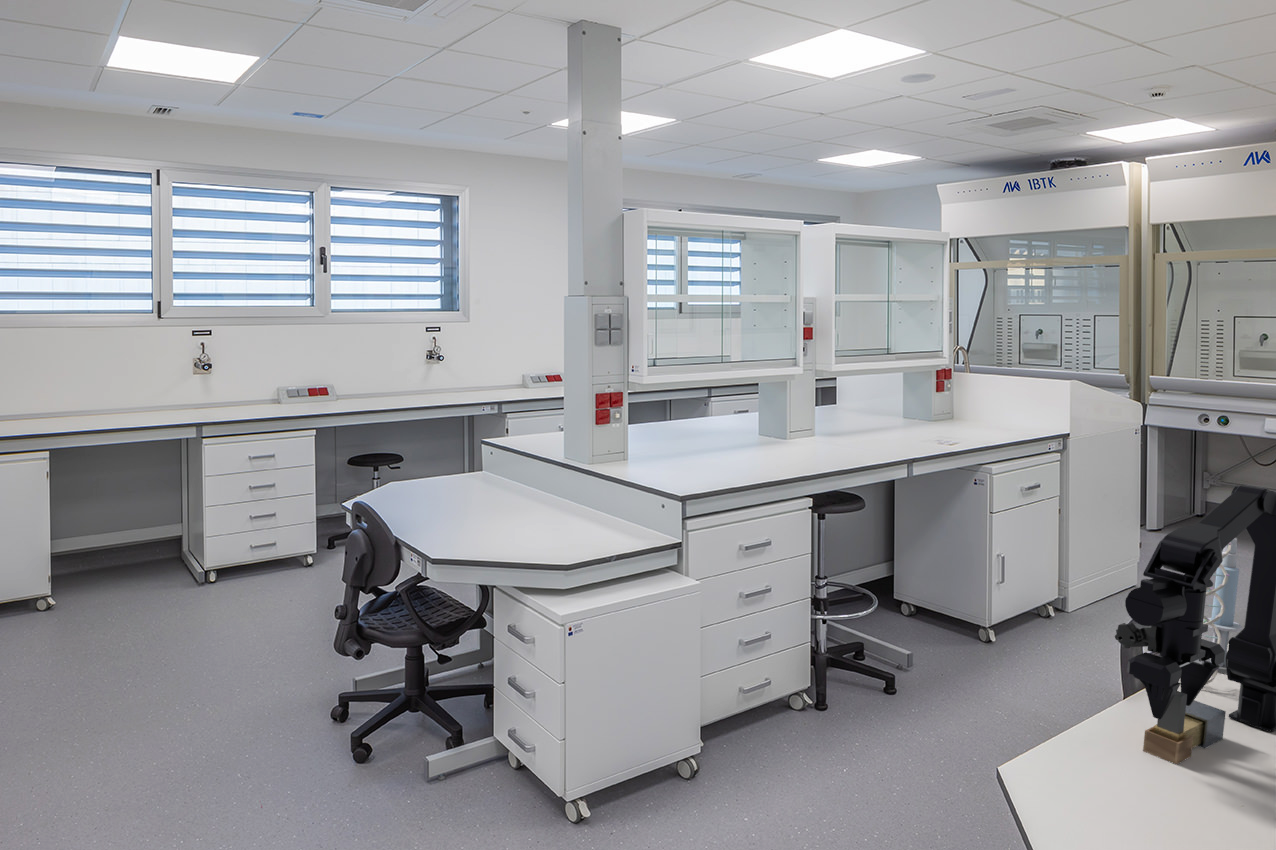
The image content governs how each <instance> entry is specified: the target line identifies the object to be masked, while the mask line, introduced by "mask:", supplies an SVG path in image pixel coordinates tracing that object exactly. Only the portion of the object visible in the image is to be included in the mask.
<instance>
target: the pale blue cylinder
mask: <svg viewBox="0 0 1276 850" xmlns="http://www.w3.org/2000/svg"><path fill="white" fill-rule="evenodd" d="M1237 543H1238V537H1236V538H1234V539H1233V540H1232V541H1231V550H1230V552H1229V553H1228V555H1227V556H1226V557H1224V558H1223V561H1222V563H1221V564H1222V565H1223V566H1224V568H1225V570H1226V572H1227V574H1229V575H1230V576H1228V581H1227V583H1226V584H1225V586H1224V587H1223V588H1221V589H1220V590H1218V591H1216V593H1217V594H1218V595H1219V596H1220V598H1221V599H1222V600H1223V603H1224V606H1225V611H1224V613H1223V615H1222V617H1221V618H1219V619H1218V620H1217V621H1216V622H1214V623H1213V624H1214V625H1215V626H1216V627H1217V628H1218V630H1219V632H1220V634H1221V644H1220V645H1221V647H1222V648H1223V649H1224V651H1225V657H1224V663H1221V664H1219V668H1218V673H1220V674H1227V668H1226V654H1227V651H1228V647H1229V639H1230V638H1229V636H1230V633H1231V632H1232V633H1234V632H1235V633H1236V632H1238V633H1239V632H1241V631H1242V630H1243V629H1242V628H1243V626H1242V625H1241V623H1237V622H1235V612H1236V602H1237V594H1238V593H1237V592H1238V585H1239V575H1240V568H1238V567H1237V562H1238V561H1237V559H1238V553H1237V549H1238V544H1237ZM1227 548H1228V546H1226V547H1225V548H1224V549H1223V550H1222V553H1225V552H1226V551H1227ZM1215 574H1218V575H1224V573H1223V571H1222V569H1220V568H1219V567H1218V568H1217V570H1216V571H1215ZM1223 580H1224V577H1223V576H1215V583H1214V589H1215V588H1217V587H1219V585H1220V584H1222V583H1223ZM1214 597H1215V596H1214V595H1213V600H1212V605H1215V606H1221V604H1220V602H1219V601H1218V599H1216V598H1214ZM1220 611H1221V608H1218V607H1212V611H1211V617H1207V618H1208V619H1209V620H1210V621H1211V620H1213V619H1215V617H1216V615H1217V616H1218V614H1219V613H1220ZM1204 621H1205V620H1204V619H1203V622H1204ZM1206 622H1207V621H1206ZM1206 622H1205V623H1206ZM1208 628H1211V629H1213V635H1212V636H1213V637H1218V636H1217V634H1216V632H1215V629H1214V628H1213V627H1212V626H1211V625H1208ZM1217 641H1218V639H1215V638H1212V641H1211V642H1214V643H1217ZM1210 662H1211V659H1210ZM1211 663H1212V662H1211ZM1218 673H1217V674H1218Z"/></svg>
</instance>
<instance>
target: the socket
mask: <svg viewBox="0 0 1276 850" xmlns="http://www.w3.org/2000/svg"><path fill="white" fill-rule="evenodd" d="M1192 741H1193V736H1189V737H1187V738H1185V739H1183V740H1182V741H1180V742H1176V741H1173V740H1171V739H1168V738H1165V737H1163V736H1160V735H1158V734H1155V733H1154V726H1151V727H1150V728H1148V729H1145V730H1144V738H1143V747H1142V751H1143V752H1145V753H1147V752H1148V753H1147V754H1149V753H1150V755H1152V756H1155V757H1157V756H1158V757H1157V758H1159V757H1160V759H1161V760H1164V761H1166V760H1167V762H1169V761H1170V762H1169V763H1171V762H1173V763H1172V764H1174V763H1175V765H1176V764H1177V765H1179V764H1180V762H1181V763H1182V762H1184V761H1186V760H1187V758H1188V759H1189V757H1190V758H1191V756H1192V749H1193V748H1192ZM1185 759H1186V760H1185ZM1178 763H1179V764H1178Z"/></svg>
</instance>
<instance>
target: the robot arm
mask: <svg viewBox="0 0 1276 850" xmlns="http://www.w3.org/2000/svg"><path fill="white" fill-rule="evenodd" d="M1245 530H1246V532H1247V534H1248V536H1249V537H1250V540H1251V541H1252V543H1253V547H1254V549H1253V557H1252V565H1251V571H1250V573H1251V574H1250V581H1249V589H1248V596H1247V602H1246V603H1247V605H1246V611H1245V612H1246V613H1245V619H1244V626H1243V629H1242V630H1241V631H1239V632H1238V633H1237V634H1236V635H1235V636H1232V637H1231V638H1229V639H1228V647H1227V654H1226V668H1227V673H1226V675H1227V680H1228V681H1231V682H1236V683H1238V684H1239V685H1240V686H1239V694H1238V695H1239V696H1238V705H1237V709H1236V710H1234V711H1233V712H1231V713H1229V714H1228V718H1230V719H1233V720H1236V721H1238V722H1241V723H1244V724H1246V725H1250V726H1253V727H1255V728H1258V729H1260V730H1262V731H1263V730H1264V731H1267V732H1269V733H1270V732H1274V731H1276V492H1275V491H1273V490H1270V488H1267V487H1261V486H1256V485H1248V484H1241V485H1239V484H1238V485H1235V486H1234V487H1233V489H1232V491H1231V494H1230V495H1229V496H1228V497H1226V498H1225V499H1224V500H1223V501H1222V502H1220V503H1219V505H1217V506H1216V507H1215V508H1214V509H1212V510H1211V511H1210V512H1209V513H1207V515H1205V517H1203V518H1202V519H1201V520H1200V521H1198V522H1197V523H1196V524H1194V525H1189V526H1183V527H1178V528H1176V529H1174V530H1173V531H1171V532H1169V533H1168V534H1166V535H1165V536H1164V537H1163V538H1162V539H1161V540H1160V541H1159V543H1157V546H1156V548H1155V550H1154V552H1153V553H1152V555H1151V557H1150V559H1149V561H1148V564H1147V566H1146V567H1145V569H1144V571H1143V574H1142V575H1143V576H1144V577H1147V578H1144V579H1141V580H1140V586H1139V587H1136V588H1133V589H1132V590H1131V591H1129V592H1128V594H1127V596H1126V597H1125V603H1124V604H1125V609H1126V612H1127V614H1128V616H1129V617H1130V618H1131V620H1133V621H1134V622H1135V623H1133V622H1129V623H1124V622H1123V623H1120V624H1118V625H1117V629H1115V633H1116V634H1115V635H1114V638H1115V640H1116V641H1117V642H1118V643H1119V644H1120V645H1121V646H1122V648H1123V649H1130V648H1137V647H1138V648H1139V647H1140V648H1142V647H1145V648H1146V647H1147V650H1146V651H1148V652H1142V653H1140V654H1137V655H1135V656H1133V657H1131V658H1129V659H1128V661H1127V670H1126V671H1127V673H1128V674H1130V675H1132V678H1133V677H1134V679H1137V680H1139V681H1140V682H1141V683H1142V685H1143V686H1144V689H1145V692H1146V695H1147V698H1148V704H1149V706H1150V710H1151V713H1152V717H1153V718H1154V719H1157V720H1158V719H1159V720H1160V719H1162V717H1163V716H1164V714H1165V712H1166V710H1167V709H1168V707H1169V705H1170V703H1171V701H1172V699H1173V697H1174V695H1175V694H1176V692H1177V691H1179V690H1178V689H1179V688H1180V692H1182V693H1185V694H1187V701H1186V705H1187V706H1190V705H1191V703H1192V702H1193V701H1194V700H1195V699H1196V698H1197V696H1198V695H1199V694H1200V693H1201V691H1202V689H1204V687H1205V686H1206V685H1207V684H1206V683H1207V682H1208V680H1209V679H1210V678H1211V676H1212V675H1213V674H1214V672H1215V671H1216V670H1217V669H1218V668H1219V664H1221V663H1224V657H1225V651H1224V649H1223V648H1222V647H1221V645H1220V644H1218V643H1214V642H1212V641H1210V640H1206V639H1204V638H1202V637H1203V636H1202V635H1203V634H1204V633H1207V632H1208V631H1209V627H1208V625H1206V624H1203V618H1204V616H1205V608H1206V606H1205V605H1206V598H1207V596H1206V593H1207V591H1208V589H1207V588H1208V587H1210V588H1213V586H1214V582H1213V581H1212V579H1211V578H1212V577H1213V576H1214V575H1213V574H1215V573H1216V571H1217V568H1218V567H1219V565H1220V564H1221V563H1222V561H1223V558H1222V552H1223V549H1224V548H1225V547H1226V546H1227V545H1228V544H1229V543H1230V542H1231V541H1232V540H1233V539H1234V538H1238V536H1239V535H1241V533H1243V532H1244V531H1245ZM1162 567H1163V568H1162ZM1149 652H1152V653H1149ZM1157 653H1158V654H1159V655H1156V654H1157ZM1210 658H1211V659H1210ZM1210 660H1211V662H1212V663H1211V662H1210ZM1179 681H1180V682H1179ZM1205 684H1206V685H1205Z"/></svg>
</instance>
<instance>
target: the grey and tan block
mask: <svg viewBox="0 0 1276 850" xmlns="http://www.w3.org/2000/svg"><path fill="white" fill-rule="evenodd" d="M1186 701H1187V694H1185V693H1182V692H1181V691H1179V690H1177V692H1176V694H1175V695H1174V697H1173V699H1172V701H1171V703H1170V705H1169V707H1168V709H1167V710H1166V712H1165V714H1164V716H1163V717H1162V719H1160V720H1159V719H1157V724H1154V725H1153V727H1154V733H1155V734H1158V735H1160V736H1163V737H1165V738H1168V739H1171V740H1173V741H1176V742H1180V741H1182V740H1183V739H1185V738H1187V737H1189V736H1193V741H1192V749H1194V748H1196V747H1199V746H1198V745H1199V744H1201V743H1203V740H1204V731H1205V722H1206V721H1203V720H1200V719H1198V718H1195V717H1192V716H1189V715H1186V714H1185V711H1186Z"/></svg>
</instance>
